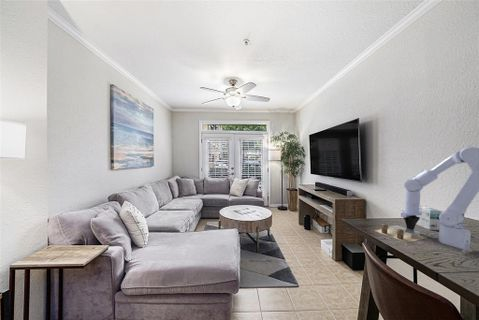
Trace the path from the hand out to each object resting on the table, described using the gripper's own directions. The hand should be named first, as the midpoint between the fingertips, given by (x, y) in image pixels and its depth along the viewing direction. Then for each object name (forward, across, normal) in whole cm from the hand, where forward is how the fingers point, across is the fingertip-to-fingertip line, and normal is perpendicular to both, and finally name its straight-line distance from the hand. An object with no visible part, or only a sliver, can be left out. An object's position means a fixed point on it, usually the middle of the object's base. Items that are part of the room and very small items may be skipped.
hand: (410, 230), depth 108 cm
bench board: (+2, +9, 0) cm, 9 cm away
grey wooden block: (+1, +6, 0) cm, 6 cm away
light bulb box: (+2, -24, -4) cm, 24 cm away
